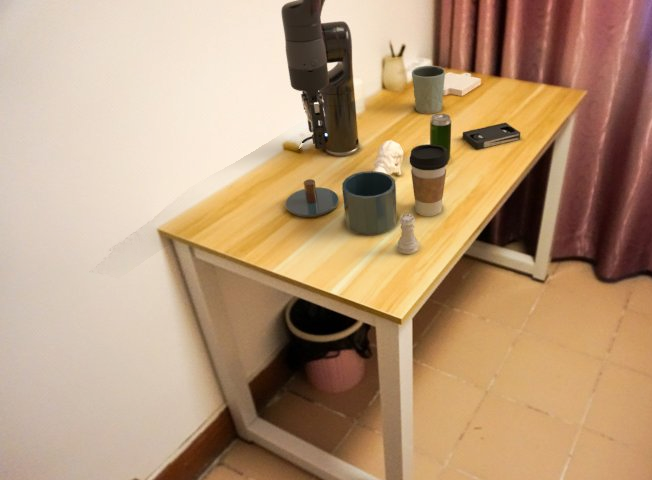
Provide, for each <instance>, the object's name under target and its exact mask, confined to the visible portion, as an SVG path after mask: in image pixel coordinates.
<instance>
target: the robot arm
mask: <svg viewBox="0 0 652 480" xmlns="http://www.w3.org/2000/svg"><path fill="white" fill-rule="evenodd" d="M325 2H326V0H293V1H289V2H286V3H285V4H283V6H282V7H281V11H280V12H281V13H280V15H281V21H282V28H283V34H284V40H285V41H284V42H285V54H286V55H285V56H286V63H287V69H288V76H289V81H290V86H291V88H292V89H293V90H295V91H297V92H302V93H300V98H301V99H300V100H301V102H302V107H303V110H304V113H305V115H306V119H307V127H308V131H309V133H312V134H311V135H310V136H308V137H305V138H304V139H303V140H302V141H301V142H302V143H306V142H308V141H310V140H312V145H314V148H315V149H316V150H321V149H322V152H323V153H324V152H325V153H327V154H329V155H331V156H335V157H346V156H350V155H353V154H355V153H357V152H358V151H359V149H360V139H359V130H358V129H359V128H358V120H357V119H358V118H357V107H356V95H355V84H354V82H355V81H354V68H353V66H354V65H353V41H352V40H353V39H352V33H351V29H350V26H349V25H348V23H347V22H346V21H344V20H343V21H342V20H341V21H338V20H337V21H330V22H322V20H321V18H322V11H323V8H324V5H325ZM333 63H336V64H335V66H334V67H332V68H331V69H330V70H329V68H328V64H333ZM297 150H298V151H301V150H302V147H301V148H300V149H298V148H297Z"/></svg>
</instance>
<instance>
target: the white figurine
mask: <svg viewBox="0 0 652 480" xmlns="http://www.w3.org/2000/svg"><path fill="white" fill-rule="evenodd" d="M404 153H405V151H404V150H403V149H402V146H401V145H400V143H398V142H396V141H394V140H393V139H392V140H385V141H384V142H382V143H381V145H380V146H379V147H378V148H377V156H376V158H375V160H374V162H373V170H372V171H376V172H383V173H386V174H388V175H390V176H392V174H395V175H397V176H401V175H402V170H401V167H402V162H403V160H404Z"/></svg>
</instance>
